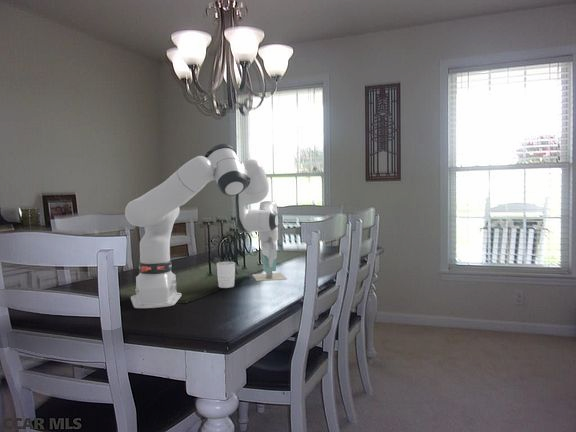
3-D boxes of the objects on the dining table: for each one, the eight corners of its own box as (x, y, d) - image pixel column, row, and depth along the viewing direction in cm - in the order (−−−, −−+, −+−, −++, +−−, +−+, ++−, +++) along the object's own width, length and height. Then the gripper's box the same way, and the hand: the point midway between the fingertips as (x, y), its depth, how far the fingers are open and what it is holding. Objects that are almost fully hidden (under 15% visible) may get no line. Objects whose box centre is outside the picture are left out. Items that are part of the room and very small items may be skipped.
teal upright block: (276, 271, 212) (275, 256, 212) (264, 271, 211) (264, 257, 211) (274, 269, 217) (273, 255, 217) (263, 269, 216) (262, 255, 216)
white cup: (232, 288, 192) (231, 265, 191) (214, 288, 193) (213, 264, 193) (238, 284, 199) (237, 261, 199) (220, 284, 201) (220, 261, 200)
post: (287, 279, 209) (286, 263, 209) (256, 281, 206) (256, 265, 206) (280, 273, 223) (280, 259, 222) (252, 275, 220) (251, 260, 219)
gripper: (279, 238, 203) (280, 269, 204) (271, 233, 223) (272, 262, 224) (265, 239, 202) (266, 270, 203) (258, 234, 222) (259, 262, 223)
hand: (269, 265), depth 214 cm, fingers closed on teal upright block, 5 cm apart
